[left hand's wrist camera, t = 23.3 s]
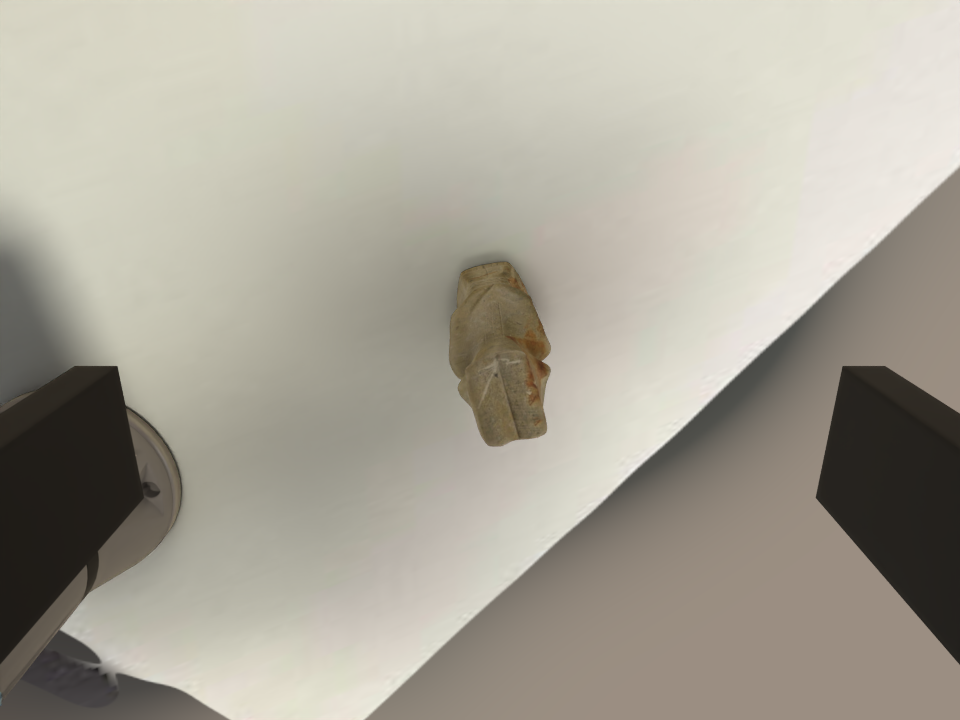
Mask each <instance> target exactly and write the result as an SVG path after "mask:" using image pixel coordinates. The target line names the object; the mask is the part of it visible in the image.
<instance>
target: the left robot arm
mask: <svg viewBox="0 0 960 720" xmlns="http://www.w3.org/2000/svg"><path fill="white" fill-rule="evenodd" d="M816 499H817V500H818V501H819V502H820V503H821V504H822V505H823V507H824V508H825V509H826V510H827V511H828V512H829V514H830V515H831V516H832V517H833V518H834V519H835V521H836V522H837V523H838V524H839V525H840V526H841V528H842V529H843V530H844V531H845V532H846V533H847V534H848V536H849V537H850V538H851V539H852V540H853V541H854V543H855V544H856V545H857V546H858V547H859V548H860V550H861V551H862V552H863V553H864V554H865V555H866V556H867V558H868V559H869V560H870V561H871V562H872V563H873V565H874V566H875V567H876V568H877V569H878V570H879V572H880V573H881V574H882V575H883V576H884V577H885V578H886V580H887V581H888V582H889V583H890V584H891V585H892V587H893V588H894V589H895V590H896V591H897V592H898V594H899V595H900V596H901V597H902V598H903V599H904V601H905V602H906V603H907V604H908V605H909V606H910V607H911V609H912V610H913V611H914V612H915V613H916V614H917V616H918V617H919V618H920V619H921V620H922V621H923V622H924V624H925V625H926V626H927V627H928V628H929V629H930V631H931V632H932V633H933V634H934V635H935V636H936V638H937V639H938V640H939V641H940V642H941V643H942V645H943V646H944V647H945V648H946V649H947V650H948V651H949V653H950V654H951V655H952V656H953V657H954V658H955V660H956V661H957V662H958V663H959V664H960V414H959V413H958V412H956V411H955V410H953V409H952V408H950V407H948V406H947V405H945V404H944V403H942V402H941V401H939V400H937V399H936V398H934V397H933V396H931V395H930V394H928V393H926V392H925V391H923V390H922V389H920V388H918V387H917V386H915V385H914V384H912V383H911V382H909V381H908V380H906V379H904V378H903V377H901V376H900V375H898V374H896V373H895V372H893V371H892V370H890V369H889V368H887V367H885V366H843V367H842V372H841V377H840V382H839V387H838V392H837V396H836V401H835V406H834V411H833V416H832V421H831V426H830V431H829V436H828V440H827V445H826V450H825V455H824V460H823V465H822V470H821V475H820V480H819V485H818V489H817V494H816ZM180 501H181V485H180V478H179V474H178V470H177V467H176V464H175V462H174V460H173V457H172V455H171V453H170V452H169V450H168V448H167V446H166V445H165V444H164V442H163V441H162V439H161V438H160V437H159V436H158V434H157V433H156V432H155V431H154V430H153V429H152V428H151V427H150V426H149V425H148V424H147V423H146V422H145V421H144V420H142V419H141V418H140V417H139V416H138V415H136V414H135V413H133V412H132V411H131V410H129V409H127V408H126V406H125V401H124V396H123V392H122V387H121V382H120V377H119V372H118V367H117V366H74V367H73V368H71V369H70V370H68V371H67V372H65V373H63V374H62V375H60V376H59V377H57V378H56V379H54V380H52V381H51V382H49V383H48V384H46V385H45V386H43V387H41V388H40V389H38V390H37V391H32V392H29V393H26V394H23V395H20V396H18V397H16V398H14V399H12V400H11V401H9V402H7V403H6V404H4V405H3V406H1V407H0V706H1V705H2V704H1V702H2V701H3V700H4V699H5V697H6V696H7V695H8V694H9V692H10V691H11V690H12V688H13V687H14V686H15V685H16V683H17V682H18V681H19V680H20V678H21V677H22V676H23V675H24V673H25V672H26V671H27V670H28V668H29V667H30V666H31V664H32V663H33V662H34V661H35V659H36V658H37V657H38V656H39V654H40V653H41V652H42V651H43V649H44V648H45V647H46V646H47V644H48V643H49V642H50V640H51V639H52V638H53V637H54V636H55V634H56V633H57V632H58V630H59V629H60V628H61V627H62V626H63V624H64V623H65V622H66V621H67V619H68V618H69V617H70V616H71V614H72V613H73V612H74V611H75V609H76V608H77V607H78V605H79V604H80V603H81V602H82V600H83V599H84V598H85V597H86V595H87V594H88V593H89V592H91V591H92V590H94V589H96V588H97V587H99V586H101V585H102V584H104V583H106V582H107V581H109V580H111V579H112V578H114V577H116V576H117V575H119V574H121V573H123V572H124V571H126V570H128V569H129V568H131V567H133V566H134V565H136V564H137V563H139V562H140V561H142V560H143V559H144V558H145V557H146V556H147V555H149V554H150V553H151V552H152V551H153V550H154V549H155V548H156V547H157V546H158V545H159V544H160V542H161V541H162V540H163V538H164V537H165V536H166V534H167V533H168V531H169V530H170V529H171V527H172V525H173V523H174V522H175V520H176V517H177V514H178V511H179V507H180Z"/></svg>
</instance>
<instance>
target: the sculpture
mask: <svg viewBox="0 0 960 720" xmlns="http://www.w3.org/2000/svg"><path fill="white" fill-rule="evenodd" d="M550 350H551V346H550V343H549V341H548V339H547V337H546V335H545V332H544V329H543V326H542V324H541V322H540V320H539V317H538V315H537V312H536V310H535V308H534V305H533V303H532V299H531V297H530V296H529V295H528V293H527V291H526V288H525V286H524V284H523V282H522V281H521V279H520V277H519V275H518V274H517V272H516V271H515V269H514V268H513V267H512V265H511V264H510V263H508V262H497V263H491V264H486V265H481V266H477V267H473V268H470V269H467V270H465V271H463V272H462V273H461V275H460V278H459V284H458V291H457V309H456V310H455V312H454V313H453V315H452V317H451V321H450V346H449V361H450V365H451V368H452V370H453V372H454V373H455V375H456V376H457V377H458V378H459V379H461V382H460V383H459V385H458V391H459V393H460V395H461V397H462V398H463V399H464V400H465V401H466V402H467V403H468V404H469V405H470V406H471V407H472V409H473V412H474V416H475V419H476V422H477V426H478V429H479V432H480V434H481V436H482V438H483V440H484V441H485V442H486V444H487V445H489V446H503V445H505V444H507V443H509V442H511V441H514V440H520V439H531V438H537V437H540V436H542V435H544V434H545V433H546V431H547V424H546V418H545V414H544V410H543V401H544V394H545V387H546V383H547V380H548V377H549V375H550V372H551V369H550V367H549V366H548V365H547V364H545V363H543V362H542V360H543V359H545V358H546V357H547V356H548V355H549V353H550Z"/></svg>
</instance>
